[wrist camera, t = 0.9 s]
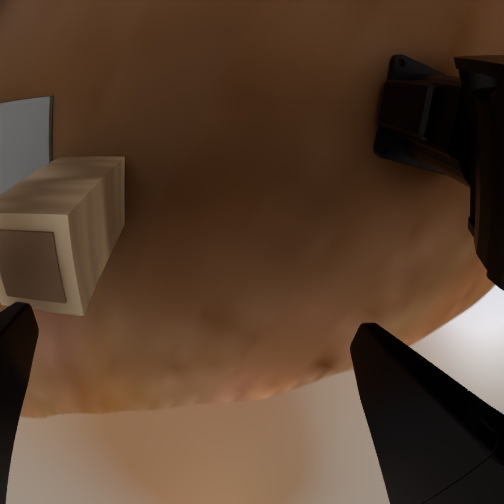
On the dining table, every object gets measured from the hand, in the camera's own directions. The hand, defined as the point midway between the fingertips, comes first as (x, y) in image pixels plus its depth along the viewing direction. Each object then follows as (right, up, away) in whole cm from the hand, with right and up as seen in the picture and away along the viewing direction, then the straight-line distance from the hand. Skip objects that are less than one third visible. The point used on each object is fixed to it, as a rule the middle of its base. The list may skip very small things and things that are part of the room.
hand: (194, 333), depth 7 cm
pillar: (-8, +5, +8) cm, 13 cm away
